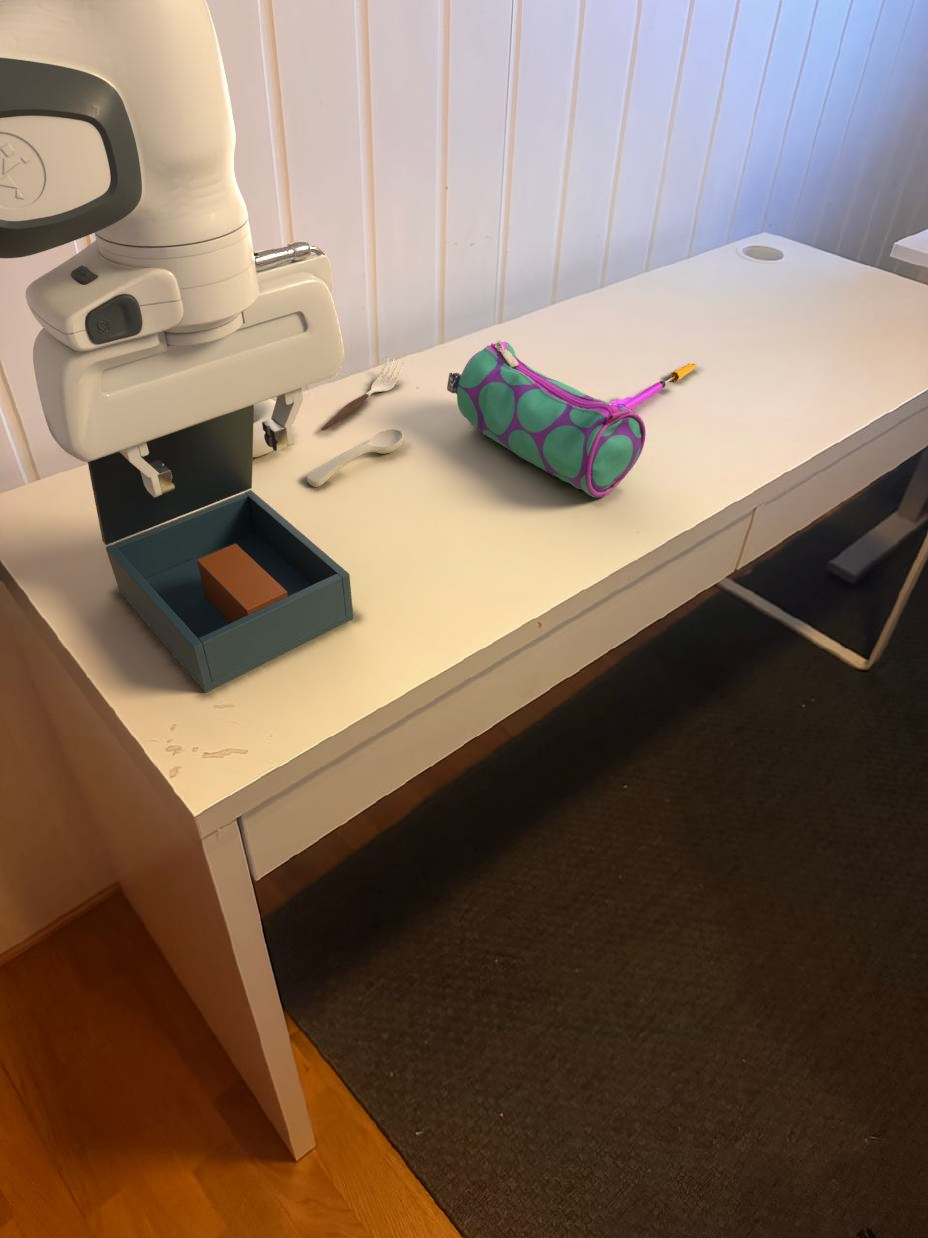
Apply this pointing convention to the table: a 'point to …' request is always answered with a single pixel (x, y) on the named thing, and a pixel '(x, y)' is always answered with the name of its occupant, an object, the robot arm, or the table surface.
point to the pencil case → (548, 421)
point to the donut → (260, 415)
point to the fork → (367, 394)
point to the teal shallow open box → (191, 626)
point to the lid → (175, 475)
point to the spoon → (378, 443)
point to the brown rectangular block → (237, 583)
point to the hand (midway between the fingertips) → (222, 467)
